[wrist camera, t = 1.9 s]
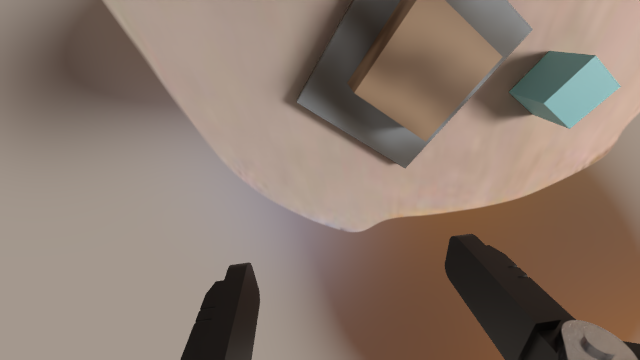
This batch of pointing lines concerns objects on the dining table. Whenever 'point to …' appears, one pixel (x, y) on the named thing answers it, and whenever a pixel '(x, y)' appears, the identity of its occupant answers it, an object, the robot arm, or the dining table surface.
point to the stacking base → (354, 48)
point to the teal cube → (564, 87)
